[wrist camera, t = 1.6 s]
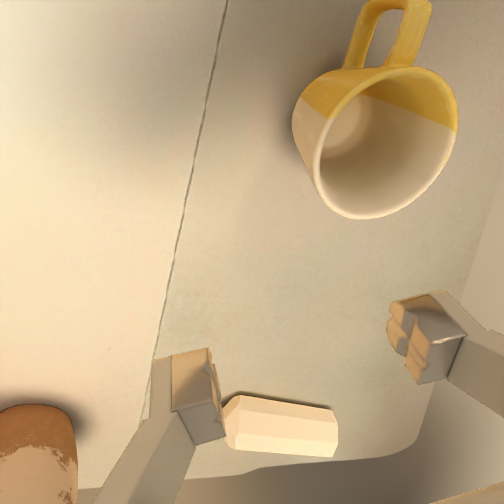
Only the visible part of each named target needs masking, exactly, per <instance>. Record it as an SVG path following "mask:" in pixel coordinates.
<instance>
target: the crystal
mask: <svg viewBox="0 0 504 504" xmlns="http://www.w3.org/2000/svg"><path fill="white" fill-rule="evenodd" d="M222 410H223V414H224V422H225V430H226V437H223V438H224V440H225V442H226V444H227V446H228V447H231V448H233V449H235V450H248V451H260V452H273V453H285V454H298V455H310V456H323V457H333V454H334V452H335V450H336V447H337V445H338V424H337V422H336V419H335V417H334V415H333V413H332V411H331V410H328V409H322V408H316V407H310V406H304V405H298V404H292V403H286V402H280V401H274V400H267V399H261V398H255V397H249V396H243V395H239V396H235V397H233V398H232V399H231V400H230V401H229V402H228V403H227V404H226V406H225V407H224V408H223V409H222Z"/></svg>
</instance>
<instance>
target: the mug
mask: <svg viewBox="0 0 504 504" xmlns="http://www.w3.org/2000/svg"><path fill="white" fill-rule="evenodd" d="M391 9H402V10H404V14H403V19H402V23H401V25H400V27H399V31H398V35H397V38H396V40H395V43H394V45H393V48H392V50H391V52H390V54H389V55H388V57H387V58H386V60H385V61H384V63H383V64H382V66H380V67H372V68H363V65H364V61H365V57H366V54H367V51H368V48H369V45H370V42H371V39H372V36H373V33H374V30H375V27H376V25H377V22H378V20H379V18H380V16H381V15H382V13H384V12H385V11H388V10H391ZM431 12H432V6H431V4H430V3H429V2H428V1H427V0H370V1H368V2H367V3H366V4H365V6H364V7H363V9H362V11H361V13H360V15H359V18H358V20H357V23H356V26H355V29H354V33H353V36H352V39H351V42H350V45H349V49H348V52H347V55H346V58H345V61H344V64H343V67H342V68H341V69H337V70H333V71H330V72H327V73H325V74H323V75H321V76H319V77H318V78H316V79H315V80H314V81H312V82H311V83H310V84H309V85H308V86H307V87H306V89H305V90H304V91H303V92H302V94H301V95H300V97H299V99H298V101H297V103H296V105H295V108H294V111H293V116H292V133H293V137H294V140H295V143H296V145H297V147H298V150H299V152H300V154H301V156H302V159H303V161H304V163H305V166H306V168H307V171H308V173H309V175H310V178H311V180H312V182H313V184H314V186H315V188H316V190H317V192H318V194H319V196H320V198H321V199H322V201H323V202H324V203H325V204H326V205H327V206H328V207H329V208H330V209H331V210H332V211H334V212H335V213H337V214H339V215H341V216H344V217H347V218H351V219H359V220H365V219H373V218H379V217H383V216H386V215H389V214H391V213H394V212H396V211H398V210H400V209H402V208H403V207H405V206H407V205H408V204H410V203H411V202H413V201H414V200H415V199H416V198H418V197H419V196H420V195H421V194H422V193H423V192H424V191H425V190H426V189H427V188H428V187H429V186H430V185H431V184H432V183H433V182H434V180H435V179H436V178H437V176H438V175H439V174H440V172H441V171H442V169H443V167H444V166H445V164H446V162H447V160H448V158H449V156H450V154H451V152H452V149H453V146H454V143H455V139H456V135H457V129H458V109H457V103H456V99H455V96H454V94H453V92H452V90H451V88H450V87H449V85H448V84H447V83H446V82H445V80H444V79H442V78H441V77H440V76H439V75H438V74H436V73H434V72H433V71H430V70H428V69H425V68H421V67H416V66H412V65H413V62H414V60H415V57H416V54H417V52H418V49H419V46H420V44H421V41H422V38H423V36H424V33H425V31H426V28H427V25H428V22H429V20H430V17H431Z"/></svg>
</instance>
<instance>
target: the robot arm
mask: <svg viewBox="0 0 504 504" xmlns="http://www.w3.org/2000/svg"><path fill="white" fill-rule="evenodd" d="M389 312H390V313H391V314H392V317H391V318H390V319H389V320H388V321H387V327H386V330H387V335H388V339H389V341H390V343H391V345H392V347H393V348H394V350H395V351H396V352H397V353H398V354H400V355H402V356H404V357H405V366H406V368H407V369H408V371H409V372H410V374H411V375H412V377H413V378H414V380H415V381H416V383H417V384H418V385H421V384H426V383H430V382H434V381H438V380H442V379H447V380H448V381H449V382H450V383H452V384H453V385H455V386H457V387H458V388H460V389H461V390H463V391H464V392H466V393H467V394H469V395H470V396H472V397H473V398H475V399H476V400H478V401H479V402H481V403H482V404H484V405H486V406H487V407H488V408H490V409H491V410H493V411H494V412H496V413H497V414H499V415H500V416H502V417H503V418H504V335H503V334H500V333H498V332H496V331H493V330H490V331H486V330H485V329H484V328H483V327H482V326H481V325H480V324H479V323H478V322H477V321H476V320H475V319H474V318H473V317H472V316H471V315H470V314H469V313H468V312H467V311H466V310H465V309H464V308H463V307H462V306H461V305H460V304H459V303H458V302H457V301H456V300H455V299H454V298H453V297H452V296H451V295H450V294H449V293H448V292H447V291H445V290H438V291H434V292H430V293H426V294H420V295H416V296H413V297H409V298H405V299H401V300H397V301H393V302H392V303H391V304H390V308H389ZM220 399H221V391H220V385H219V380H218V375H217V371H216V368H215V364H213V363H212V356H211V352H210V350H209V347H208V348H203V349H199V350H194V351H190V352H185V353H180V354H176V355H171V356H167V357H163V358H158V359H154V361H153V364H152V373H151V391H150V409H149V418H148V419H145V420H143V421H142V423H141V424H140V426H139V428H138V429H137V431H136V433H135V434H134V436H133V437H132V439H131V441H130V442H129V444H128V445H127V447H126V449H125V450H124V452H123V453H122V455H121V457H120V458H119V460H118V462H117V463H116V465H115V466H114V468H113V470H112V471H111V473H110V474H109V476H108V478H107V479H106V481H105V482H104V484H103V486H102V487H101V489H100V491H99V492H98V494H97V495H96V497H95V499H94V500H93V502H92V503H91V504H174V502H175V499H176V497H177V494H178V491H179V489H180V487H181V484H182V482H183V479H184V477H185V474H186V472H187V469H188V466H189V464H190V461H191V459H192V456H193V454H194V451H195V449H196V447H195V446H197V445H200V444H203V443H207V442H210V441H213V440H217V439H220V438H223V437H226V430H225V422H224V414H223V410H222V407H221V404H220ZM431 504H504V482H500V483H497V484H494V485H490V486H487V487H484V488H480V489H477V490H474V491H470V492H467V493H464V494H460V495H457V496H454V497H450V498H447V499H444V500H440V501H437V502H434V503H431Z"/></svg>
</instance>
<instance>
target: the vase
mask: <svg viewBox="0 0 504 504" xmlns="http://www.w3.org/2000/svg"><path fill="white" fill-rule="evenodd" d="M77 487H78V461H77V450H76V444H75V438H74V432H73V428H72V424H71V421H70V418H69V417H68V415H67V414H66V413H65V412H63V411H62V410H60V409H57V408H55V407H51V406H47V405H39V404H27V405H19V406H14V407H11V408H8V409H6V410H4V411H2V412H1V413H0V504H77Z"/></svg>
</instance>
